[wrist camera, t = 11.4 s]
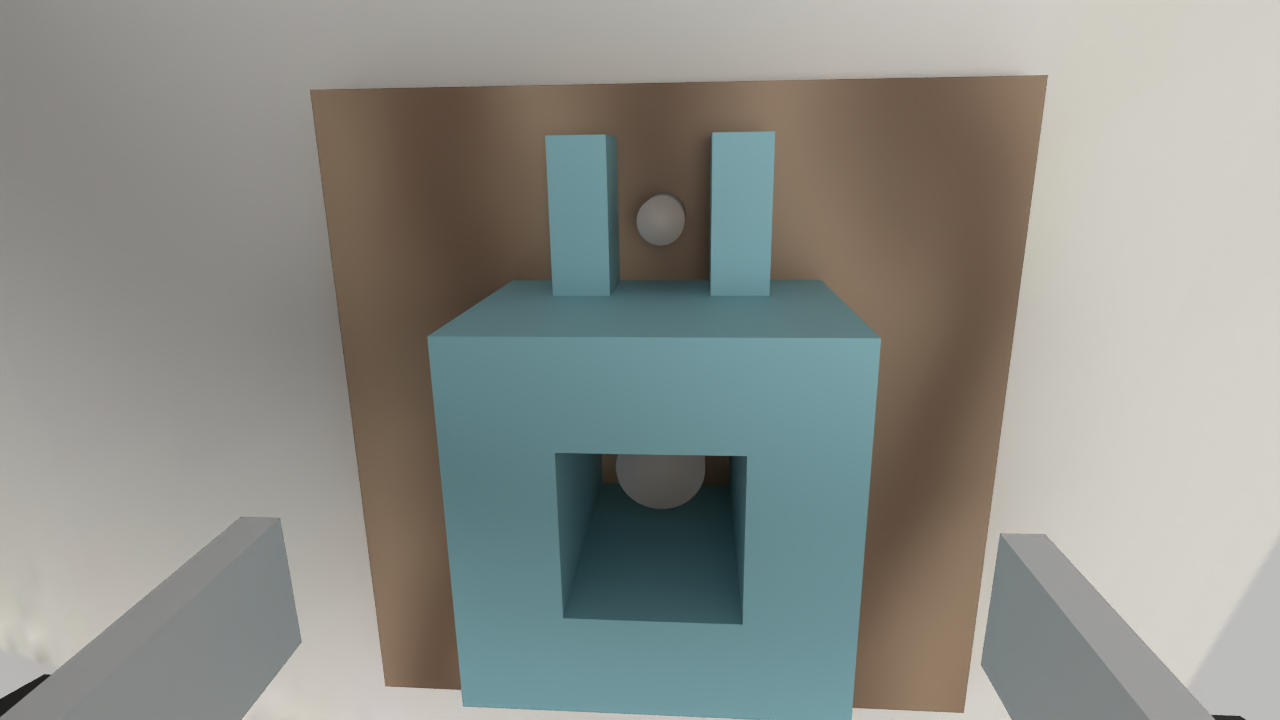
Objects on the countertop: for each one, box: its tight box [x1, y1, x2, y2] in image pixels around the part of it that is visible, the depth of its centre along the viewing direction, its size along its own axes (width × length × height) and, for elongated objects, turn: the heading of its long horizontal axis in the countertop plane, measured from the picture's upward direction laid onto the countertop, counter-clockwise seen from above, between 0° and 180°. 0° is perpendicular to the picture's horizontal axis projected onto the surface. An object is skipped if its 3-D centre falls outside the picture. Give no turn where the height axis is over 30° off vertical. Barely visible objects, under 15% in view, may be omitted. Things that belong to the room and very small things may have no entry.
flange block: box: [427, 131, 881, 720], centre depth 19 cm, size 17×9×7 cm, turn 1°
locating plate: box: [310, 75, 1048, 713], centre depth 21 cm, size 20×20×4 cm
